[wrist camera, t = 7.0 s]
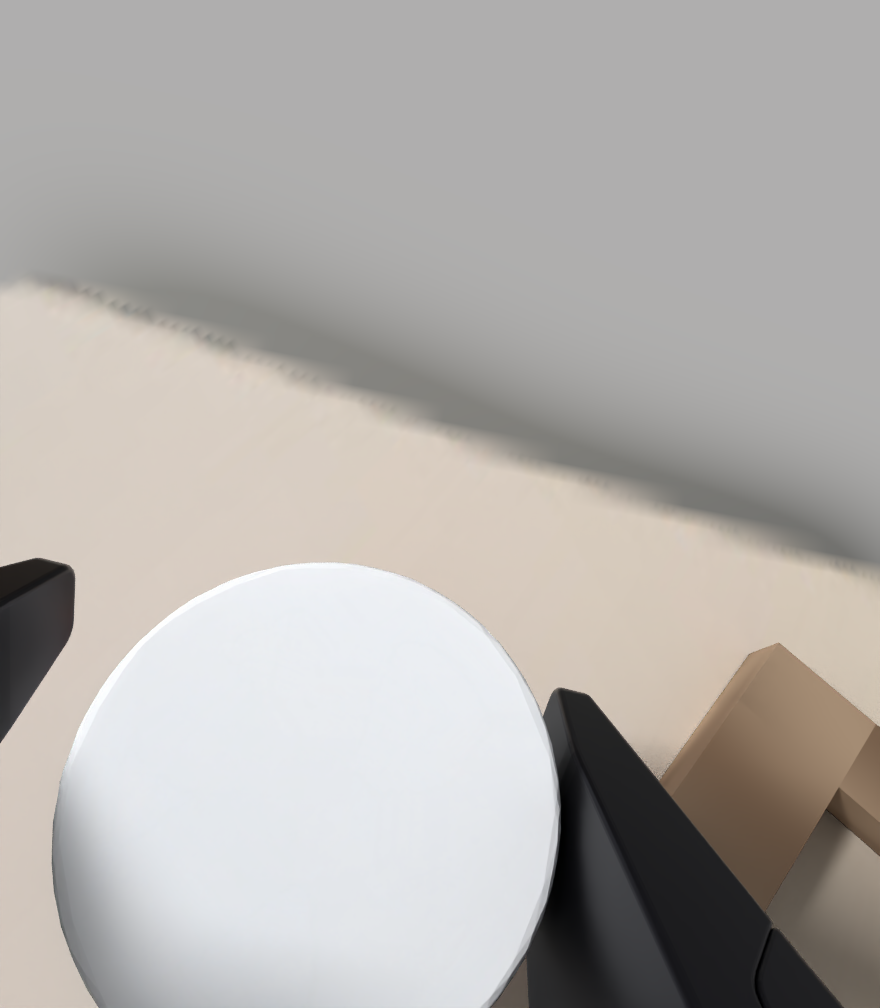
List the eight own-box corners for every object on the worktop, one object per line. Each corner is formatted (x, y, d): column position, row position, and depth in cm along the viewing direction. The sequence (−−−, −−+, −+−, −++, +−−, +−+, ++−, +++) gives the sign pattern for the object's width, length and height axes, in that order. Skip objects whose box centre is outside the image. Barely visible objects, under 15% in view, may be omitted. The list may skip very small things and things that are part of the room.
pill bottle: (346, 645, 19) (362, 394, 9) (515, 841, 17) (769, 809, 7) (128, 825, 16) (-193, 765, 6) (303, 1072, 15) (245, 1505, 5)
